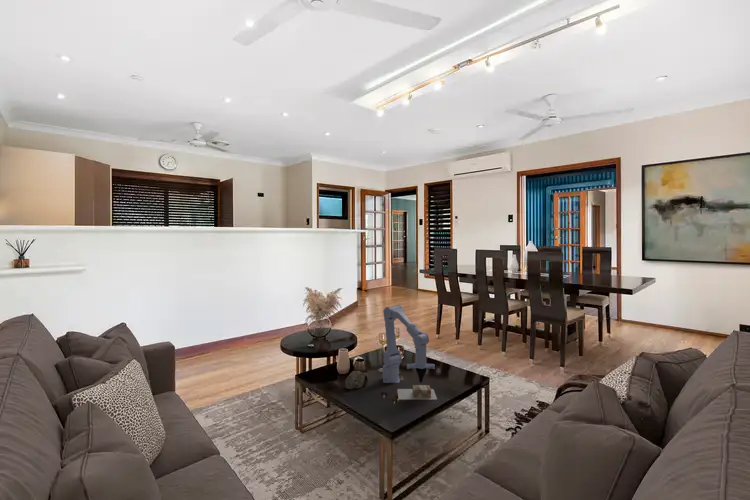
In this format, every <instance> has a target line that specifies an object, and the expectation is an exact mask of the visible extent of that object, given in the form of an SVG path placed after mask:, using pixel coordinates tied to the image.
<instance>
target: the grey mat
mask: <svg viewBox="0 0 750 500" xmlns="http://www.w3.org/2000/svg"><path fill="white" fill-rule="evenodd" d="M430 389H431V398H414V397H413V388H397V389H396V390H397V392H396V393H397V396H398V398H397V399H398V400H403V401H404V400H406V401H407V400H410V401H411V400H413V401H415V400H419V401H420V400H423V401H424V400H426V401H427V400H429V401H430V400H437V401H438V398H437V394H436V393H435V388H434V389H433V388H430Z"/></svg>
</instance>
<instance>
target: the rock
mask: <svg viewBox="0 0 750 500" xmlns="http://www.w3.org/2000/svg"><path fill="white" fill-rule="evenodd" d="M366 376H367V373H366V372H362V371H359V370H352V372H350V374H349V375H348V376H347V377H346V378H345V388H346V389H348V390H353V389H360V388H362V387H363V385H364V384H365V378H366Z"/></svg>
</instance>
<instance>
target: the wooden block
mask: <svg viewBox="0 0 750 500" xmlns="http://www.w3.org/2000/svg"><path fill="white" fill-rule="evenodd" d="M412 389H413V397H414V398H431V389H432V388H431V387H430V384H412Z"/></svg>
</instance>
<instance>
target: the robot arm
mask: <svg viewBox="0 0 750 500" xmlns="http://www.w3.org/2000/svg"><path fill="white" fill-rule="evenodd" d="M382 312H383V320H384V327H385V338H386V350H385V351H384V352H383V364H384V365H382V384H384V383H385V384H399V383H400V382H401V381H400V380H401V379H400V376H399V375H400V371H399V370H400V369H399V368H400V367H399V366H400V365H401V363H402V361H403V359H402V358H403V357H402V354H401V351H400V350H399V349H398V348H397V341H396V330H395V328H396V327H395V321H396V320H397V319H398V320H399V321H400V322H401V323H402V324H403V325H404V327H406V332H407V333H408V334H409V336H410V337H412V341H413V345H414V349H415V358H414V359H415V362H413V363H406V369H407V370H409V369H415V371H416V374H417V375H418V376H417V377H418V382H419V383H423V380H424V377H425V374H426V372H427V369H433V370H435V369H436V365H435V364H434V363H427V344H429V341H430V337H429V336H428V334H427V333H426V332H423V331H422V330H421V329H419V327H418V326H417V324H415V323H412V322H411V321H410V319H409V318H408V317H407V315H406V313H405V310H404V308H403V306H402V305H401V304H397V305H391V306H386V307H384V309H383V311H382Z"/></svg>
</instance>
